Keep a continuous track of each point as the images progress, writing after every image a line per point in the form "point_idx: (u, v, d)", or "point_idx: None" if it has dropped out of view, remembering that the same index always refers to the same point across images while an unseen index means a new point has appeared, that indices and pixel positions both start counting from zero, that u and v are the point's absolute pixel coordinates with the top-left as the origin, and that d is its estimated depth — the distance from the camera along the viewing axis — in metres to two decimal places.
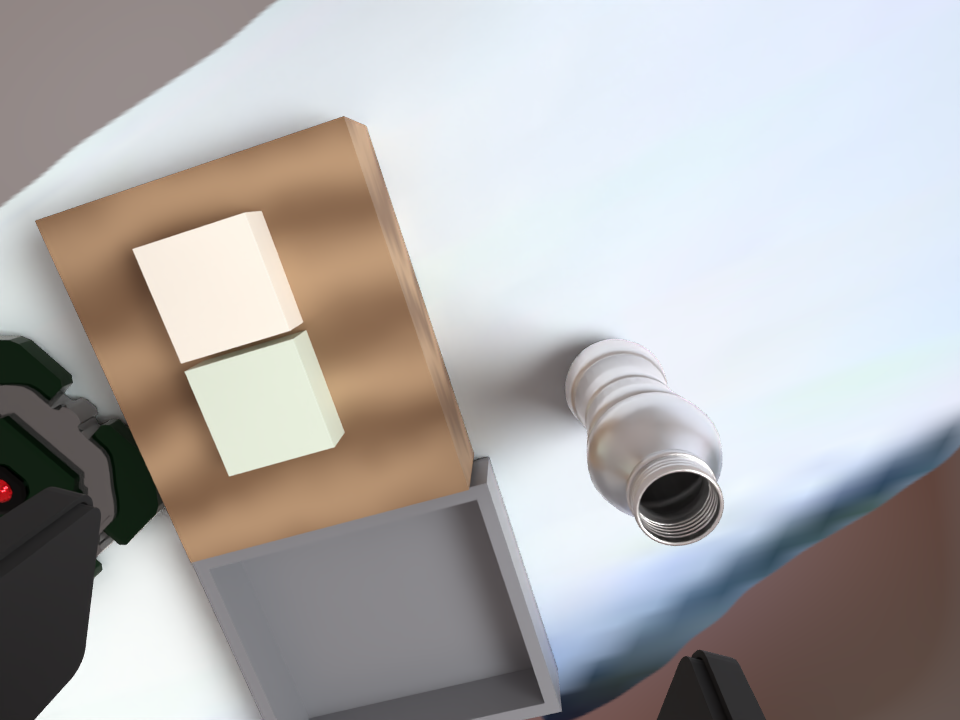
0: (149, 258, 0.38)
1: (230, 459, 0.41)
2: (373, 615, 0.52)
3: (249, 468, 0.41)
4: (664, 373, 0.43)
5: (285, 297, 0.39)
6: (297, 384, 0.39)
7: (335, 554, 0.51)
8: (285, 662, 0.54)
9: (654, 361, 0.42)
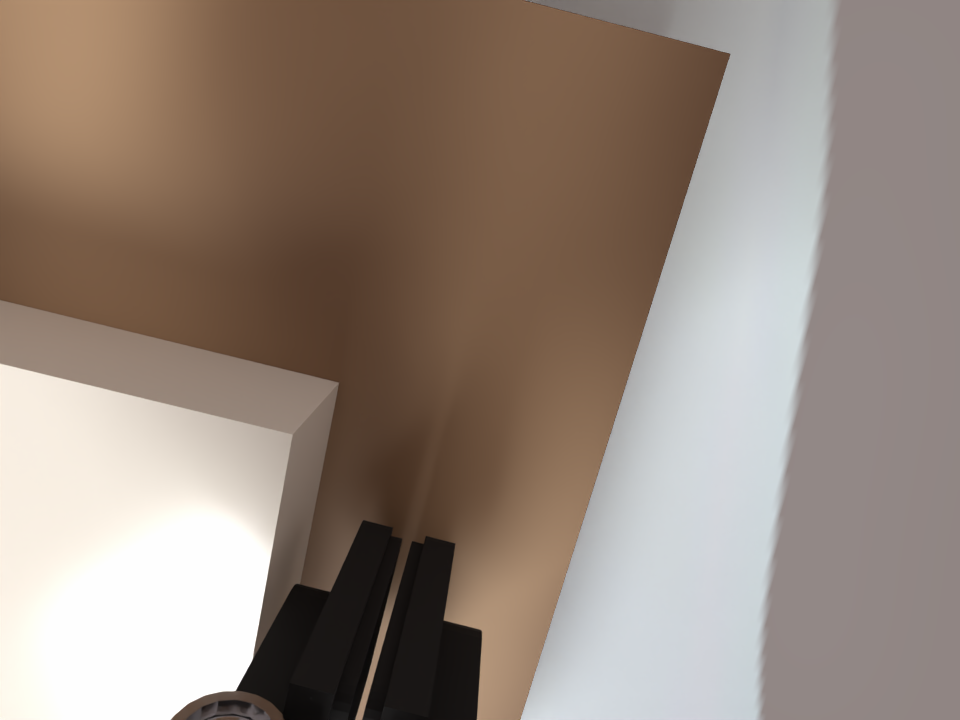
0: (229, 470, 0.09)
1: None
2: None
3: None
4: None
5: None
6: None
7: None
8: None
9: None
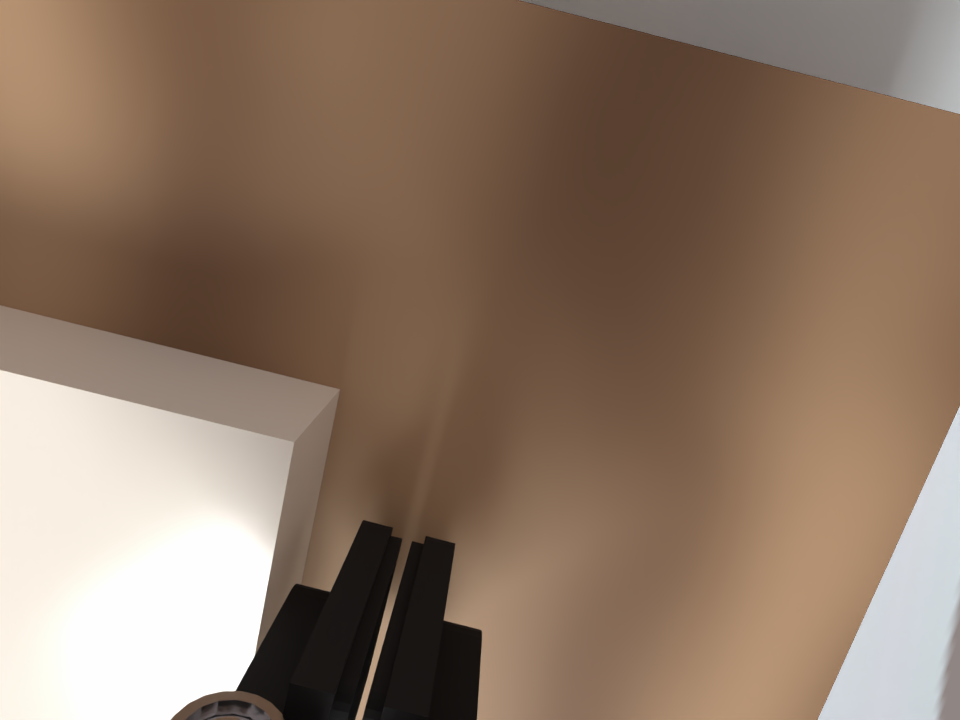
0: (231, 477, 0.09)
1: None
2: None
3: None
4: None
5: None
6: None
7: None
8: None
9: None
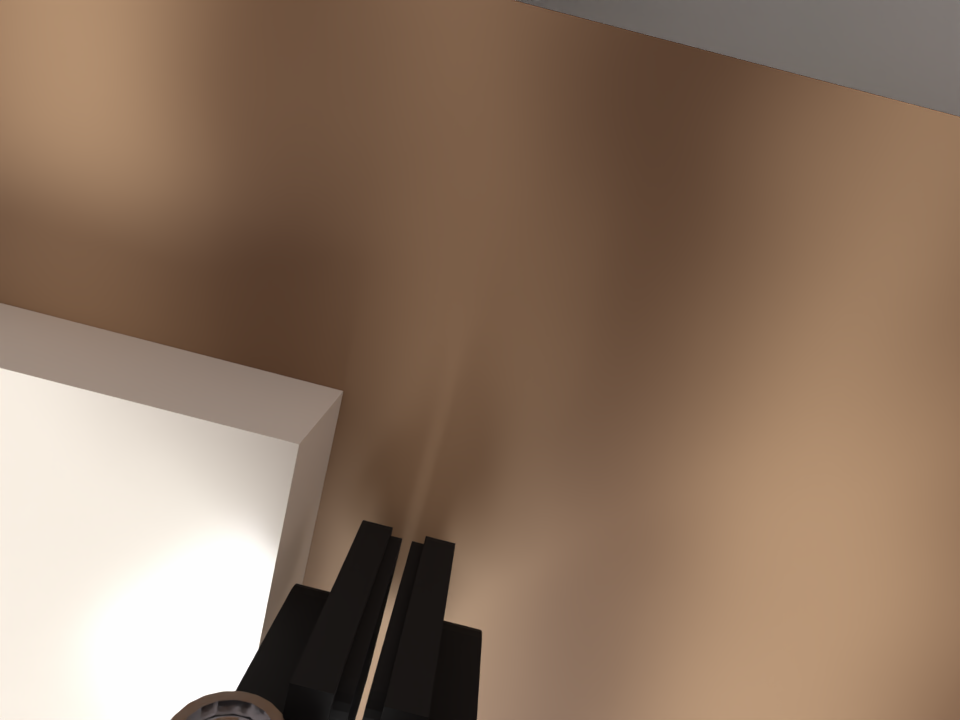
0: (235, 478, 0.09)
1: None
2: None
3: None
4: None
5: None
6: None
7: None
8: None
9: None
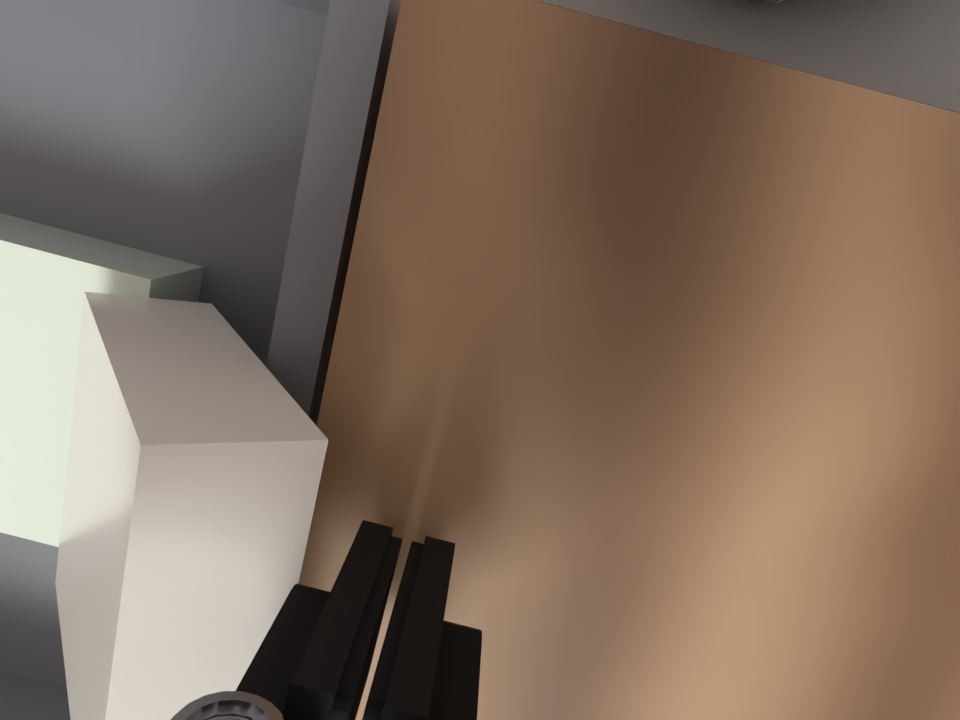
0: (125, 468, 0.09)
1: None
2: None
3: None
4: None
5: None
6: None
7: None
8: None
9: None
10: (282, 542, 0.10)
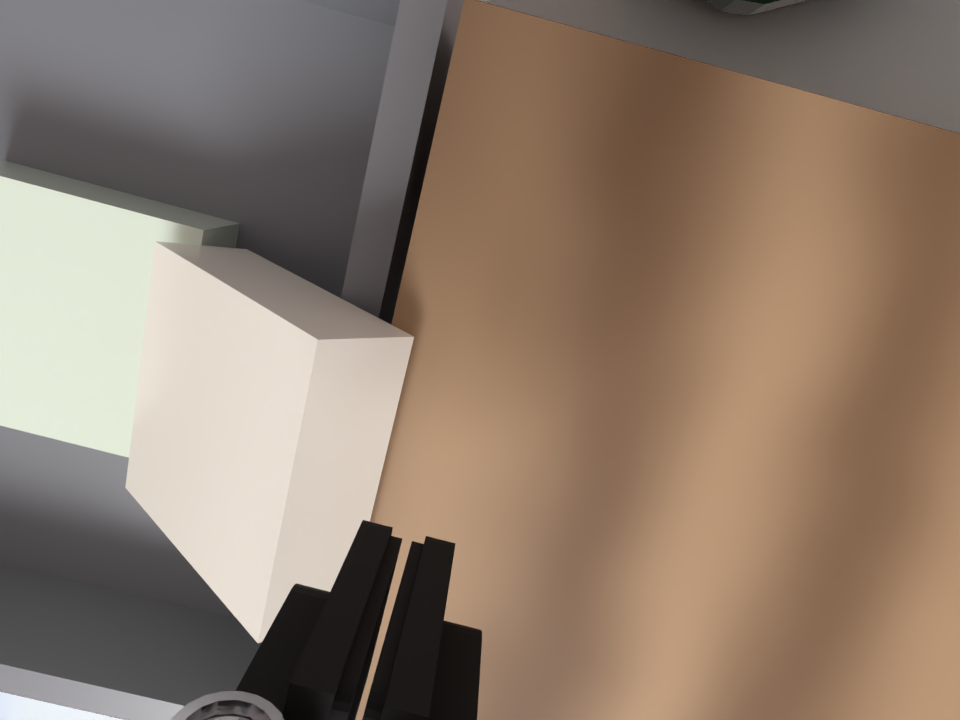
0: (288, 361, 0.13)
1: None
2: None
3: None
4: None
5: None
6: None
7: None
8: None
9: None
10: (383, 409, 0.14)
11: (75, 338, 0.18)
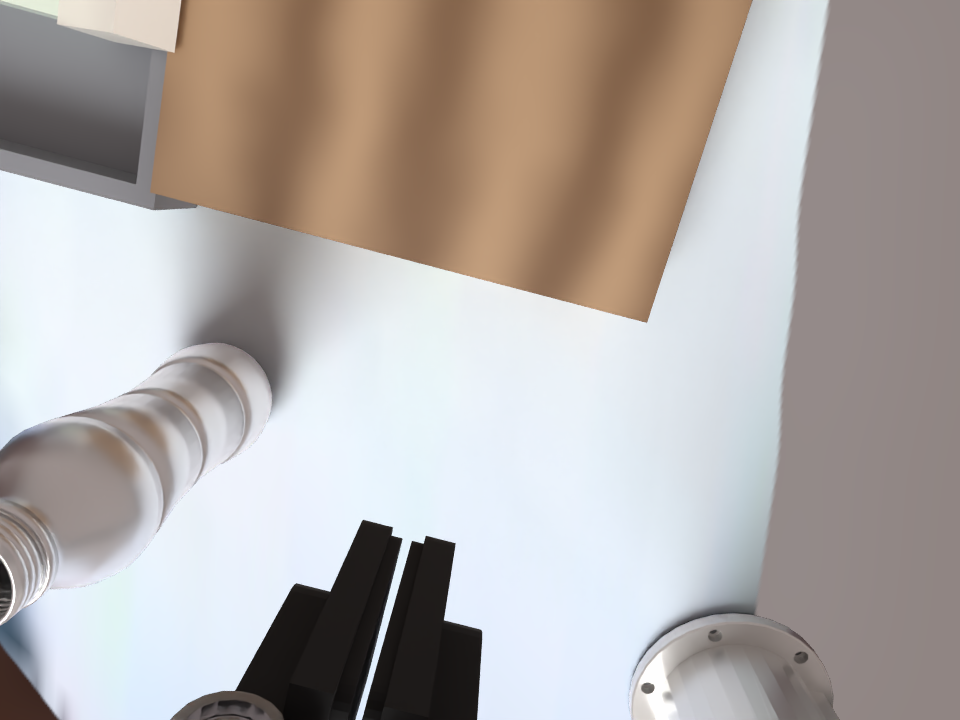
0: None
1: None
2: None
3: None
4: None
5: (98, 35, 0.31)
6: None
7: None
8: None
9: None
10: None
11: None
